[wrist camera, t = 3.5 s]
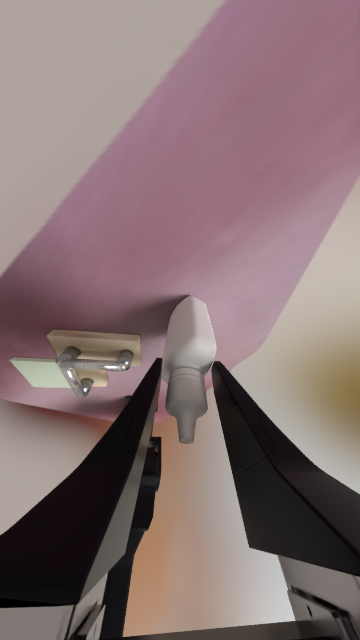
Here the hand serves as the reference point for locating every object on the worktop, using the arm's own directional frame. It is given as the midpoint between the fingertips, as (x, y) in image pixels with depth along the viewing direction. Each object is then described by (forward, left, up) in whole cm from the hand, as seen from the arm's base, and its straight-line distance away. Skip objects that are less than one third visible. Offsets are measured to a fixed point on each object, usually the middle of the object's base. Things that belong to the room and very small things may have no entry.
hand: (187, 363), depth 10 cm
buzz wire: (-11, +11, -8) cm, 17 cm away
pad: (-14, +21, -8) cm, 26 cm away
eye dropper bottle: (-1, 0, -8) cm, 8 cm away
